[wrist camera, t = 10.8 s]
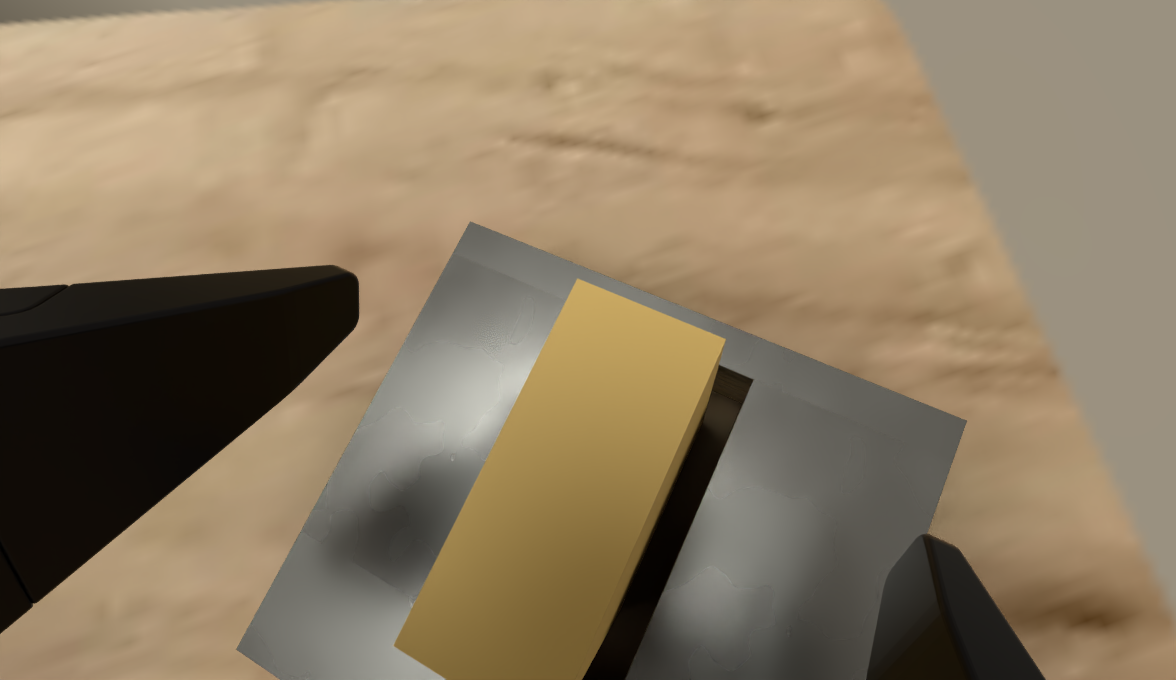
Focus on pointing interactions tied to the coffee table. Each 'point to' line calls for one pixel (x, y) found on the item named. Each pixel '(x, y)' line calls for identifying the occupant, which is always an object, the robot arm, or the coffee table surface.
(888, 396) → the box
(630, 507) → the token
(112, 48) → the coffee table surface
